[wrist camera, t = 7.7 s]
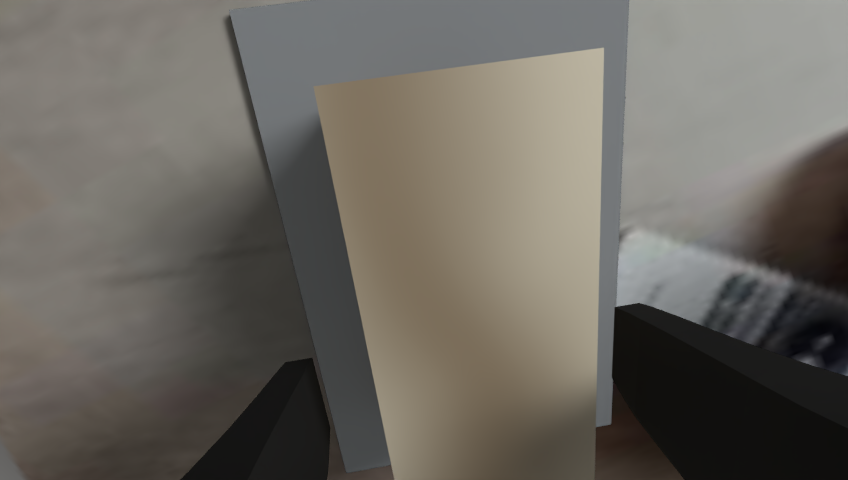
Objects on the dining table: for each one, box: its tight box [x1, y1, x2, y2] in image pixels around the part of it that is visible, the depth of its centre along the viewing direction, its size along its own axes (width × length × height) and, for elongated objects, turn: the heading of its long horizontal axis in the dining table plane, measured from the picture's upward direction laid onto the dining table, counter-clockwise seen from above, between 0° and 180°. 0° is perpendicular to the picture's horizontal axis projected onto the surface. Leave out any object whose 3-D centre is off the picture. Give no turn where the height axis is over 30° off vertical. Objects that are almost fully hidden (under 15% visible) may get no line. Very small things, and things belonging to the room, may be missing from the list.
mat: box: [229, 0, 629, 473], centre depth 16 cm, size 12×18×1 cm, turn 7°
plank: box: [313, 48, 604, 480], centre depth 10 cm, size 4×13×4 cm, turn 7°
